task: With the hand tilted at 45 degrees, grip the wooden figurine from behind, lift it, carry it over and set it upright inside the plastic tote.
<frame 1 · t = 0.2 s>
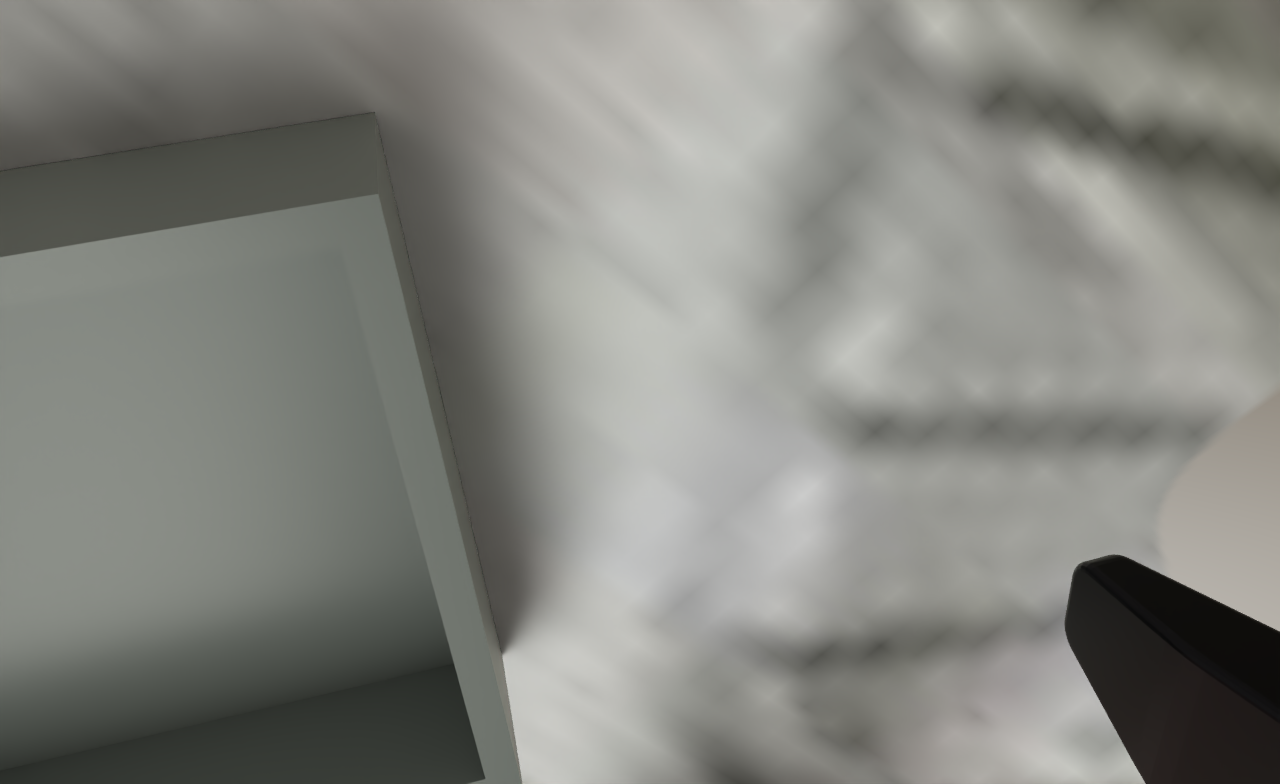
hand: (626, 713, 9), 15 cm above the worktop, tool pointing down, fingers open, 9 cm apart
tote: (109, 501, 23), on the worktop
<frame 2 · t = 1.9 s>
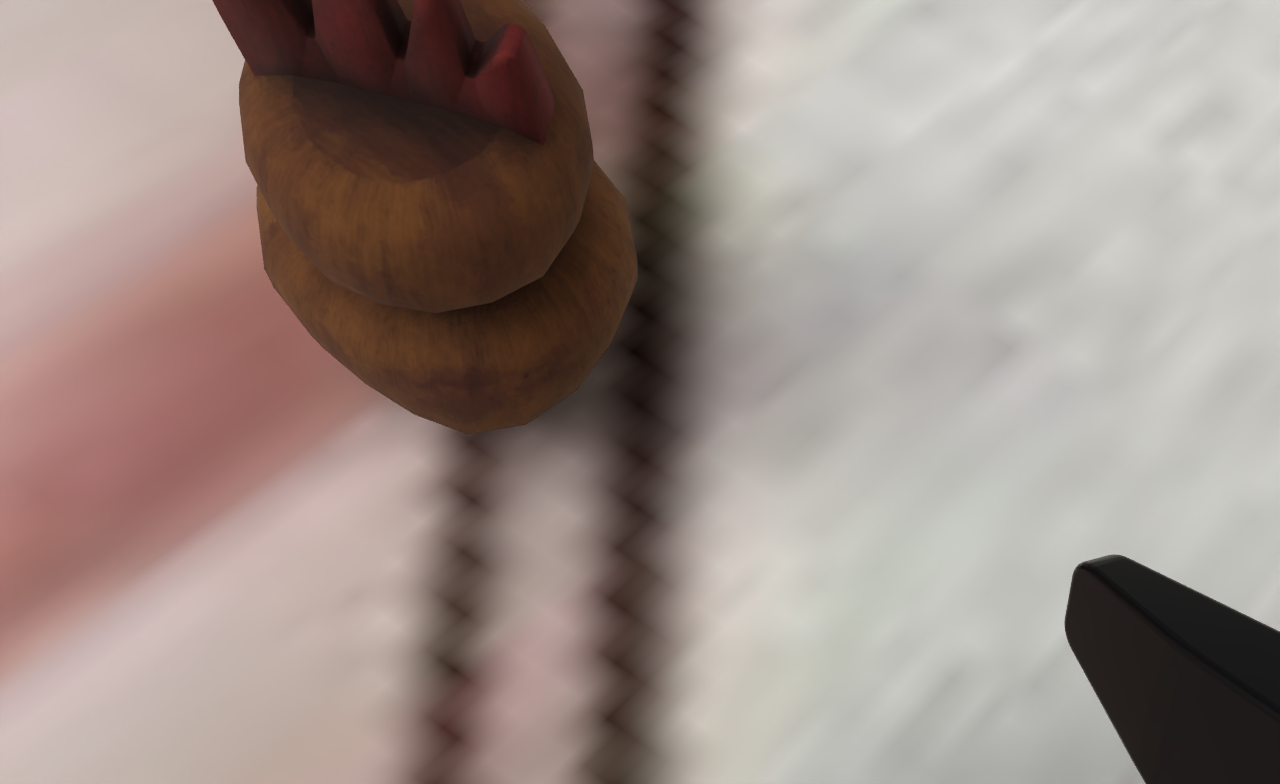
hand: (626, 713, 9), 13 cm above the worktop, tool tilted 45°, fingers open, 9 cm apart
wooden figurine: (472, 318, 24), on the worktop
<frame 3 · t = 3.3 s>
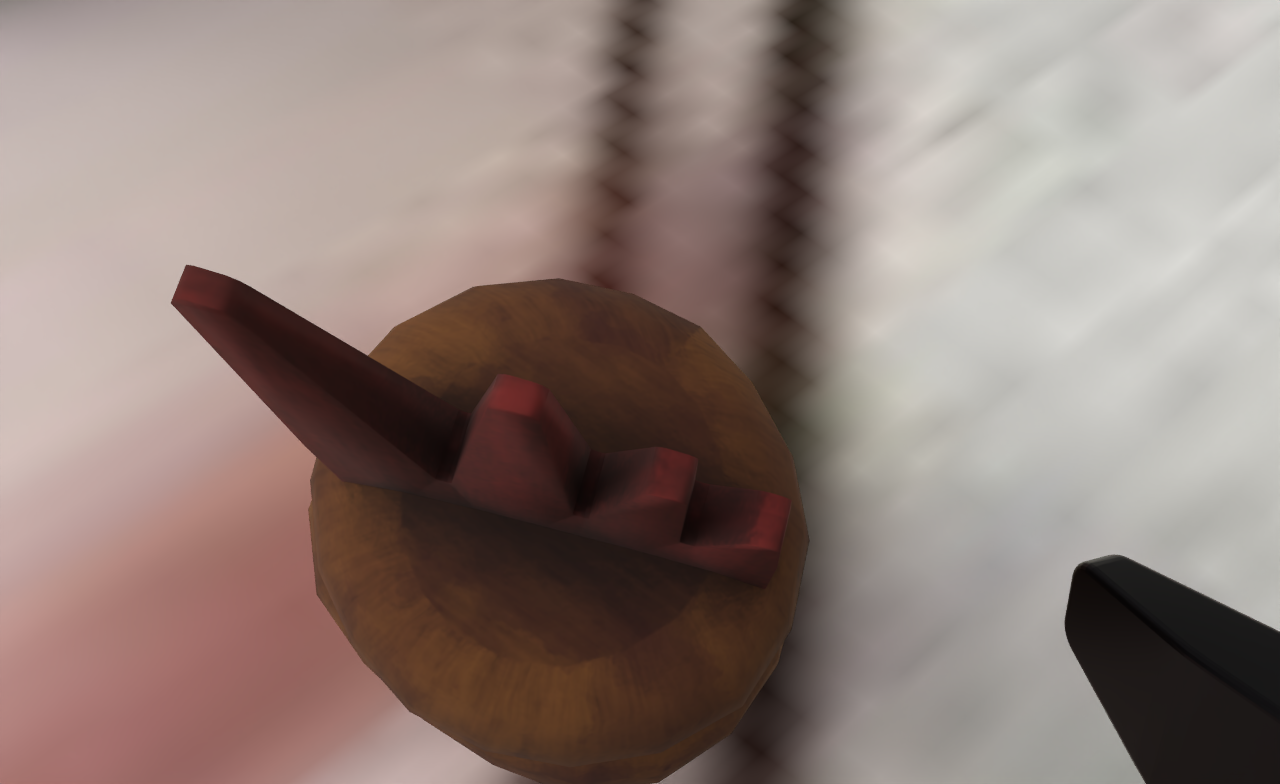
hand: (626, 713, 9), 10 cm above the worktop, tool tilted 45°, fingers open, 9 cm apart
wooden figurine: (552, 568, 20), on the worktop
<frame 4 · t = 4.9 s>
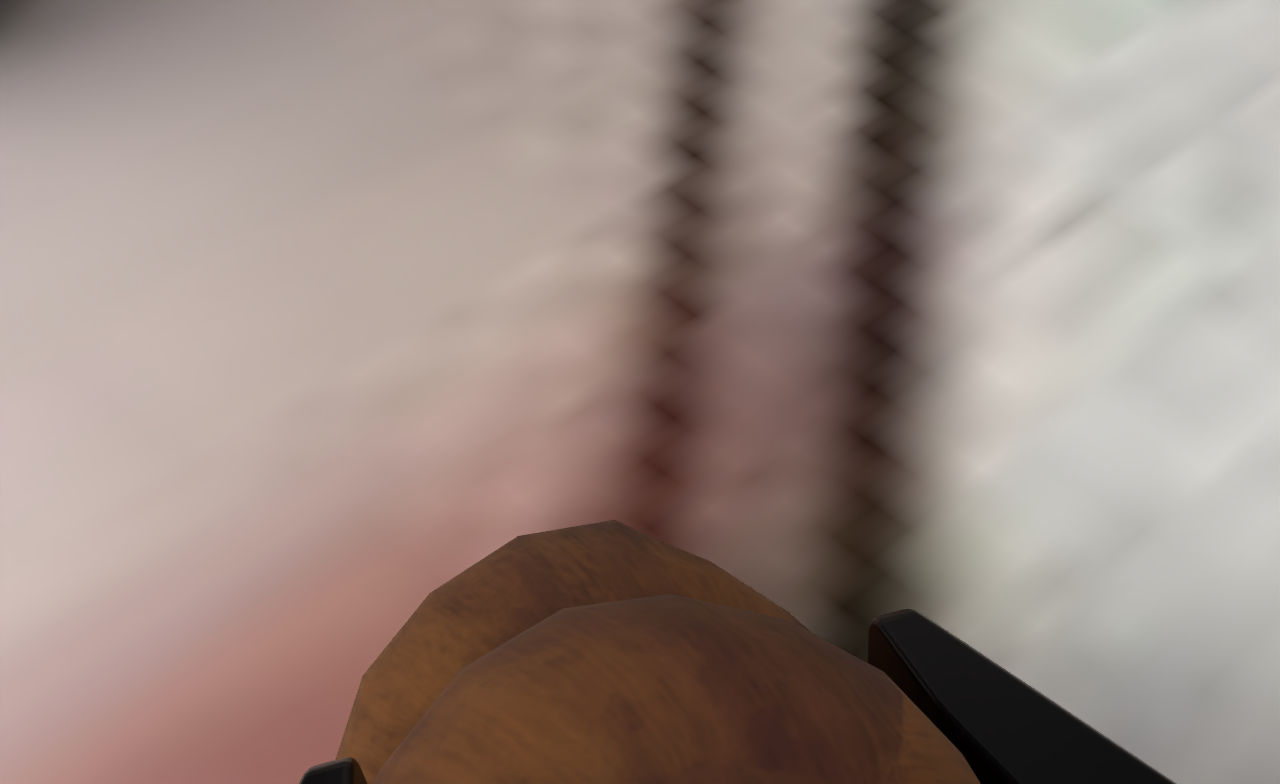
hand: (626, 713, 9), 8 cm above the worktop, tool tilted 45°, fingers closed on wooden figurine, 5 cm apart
wooden figurine: (609, 756, 17), on the worktop, touching gripper
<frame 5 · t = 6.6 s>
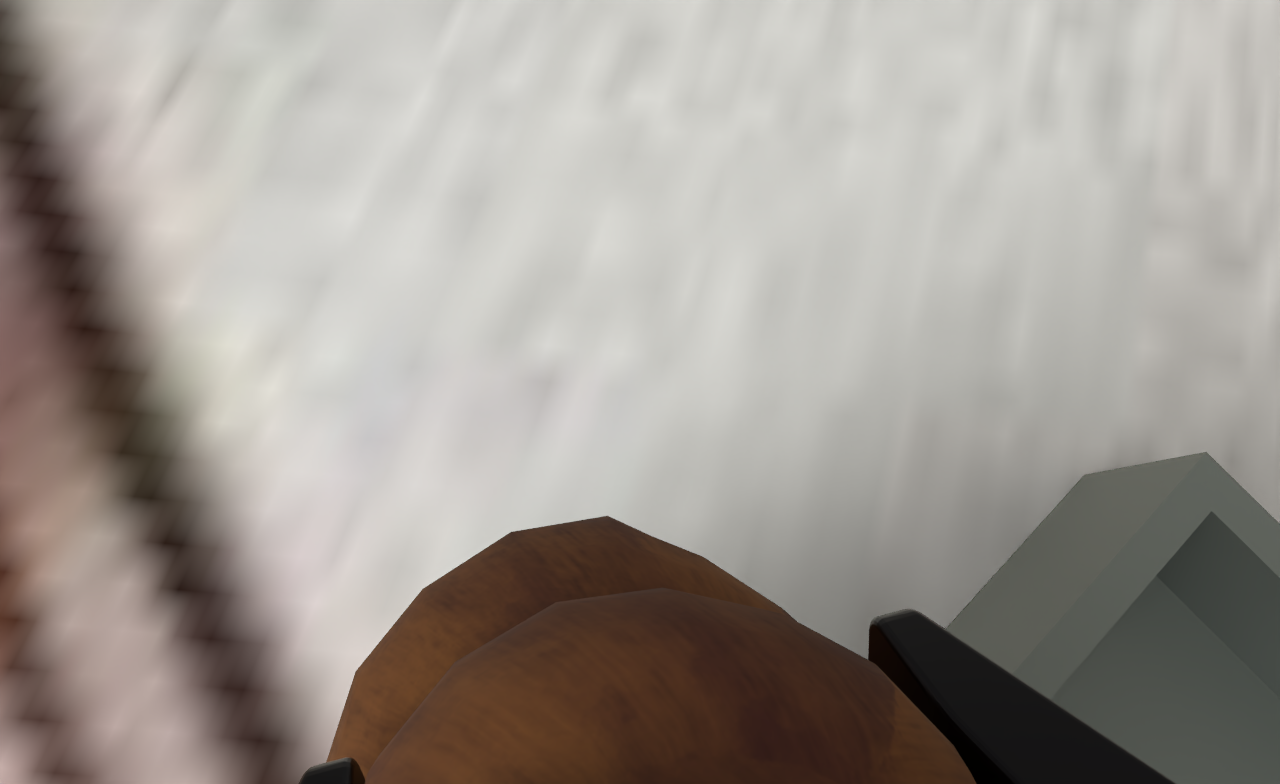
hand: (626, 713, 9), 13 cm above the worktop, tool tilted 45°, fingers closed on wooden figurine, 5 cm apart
wooden figurine: (602, 753, 17), point 6 cm above the worktop, touching gripper
when the fingers open (9 cm above the worktop, at t = 8.5 s): wooden figurine drops 1 cm, resting on tote.
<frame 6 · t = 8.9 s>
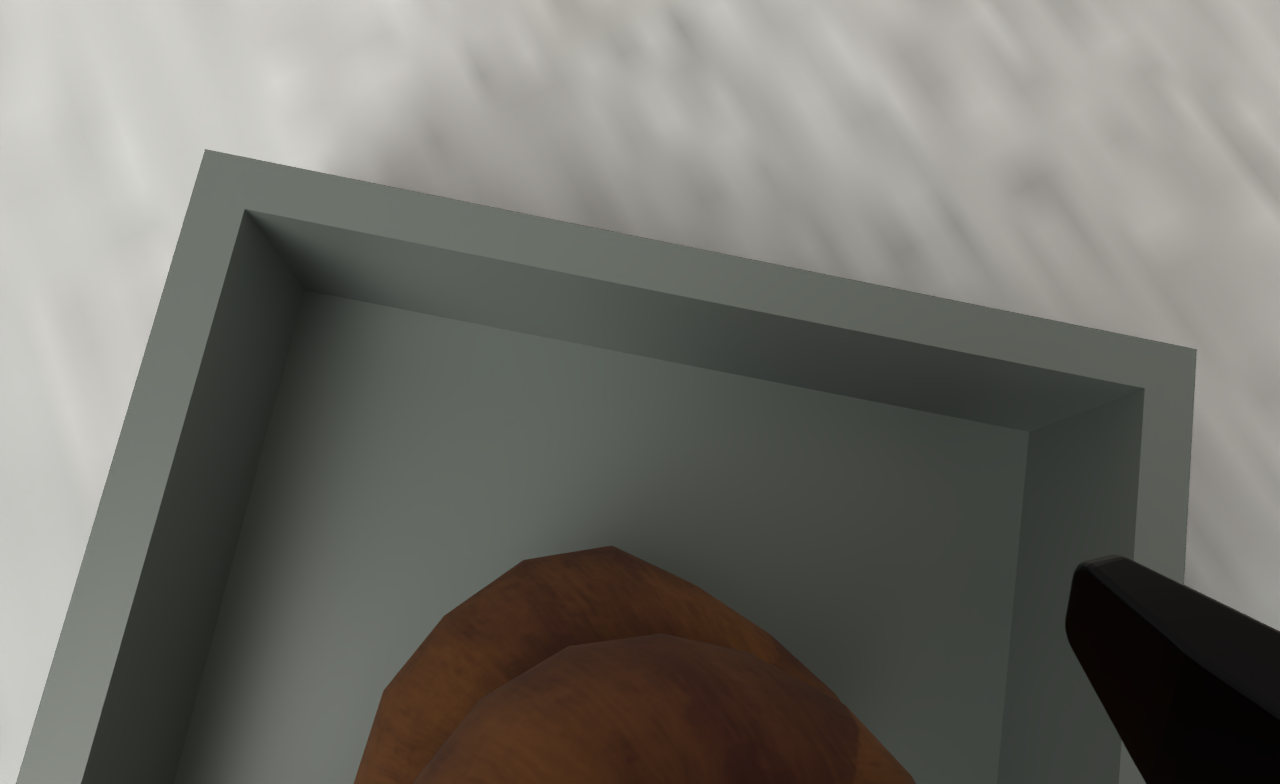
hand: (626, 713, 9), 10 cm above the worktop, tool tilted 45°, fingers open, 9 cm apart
wooden figurine: (604, 755, 18), resting on tote
tote: (604, 741, 18), on the worktop
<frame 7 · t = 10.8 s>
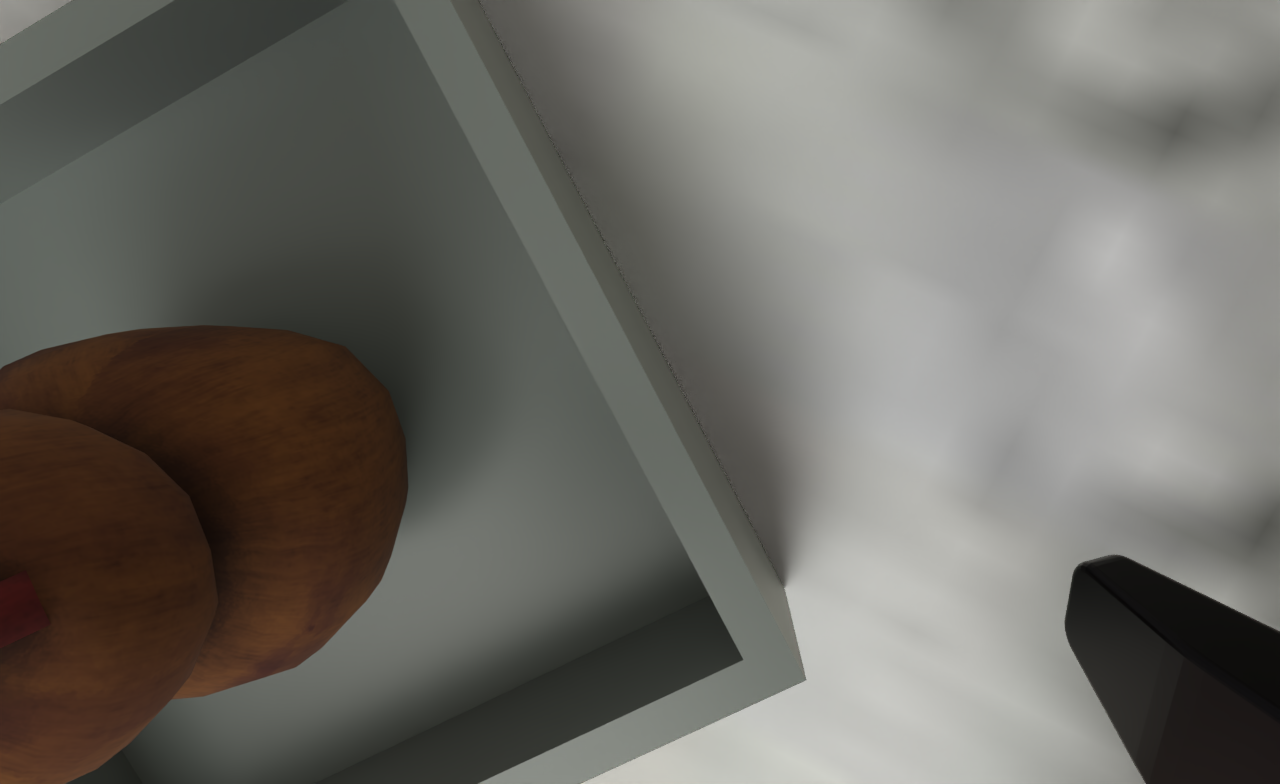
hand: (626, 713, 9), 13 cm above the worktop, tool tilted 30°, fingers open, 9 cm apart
wooden figurine: (295, 444, 22), resting on tote
tote: (298, 433, 22), on the worktop
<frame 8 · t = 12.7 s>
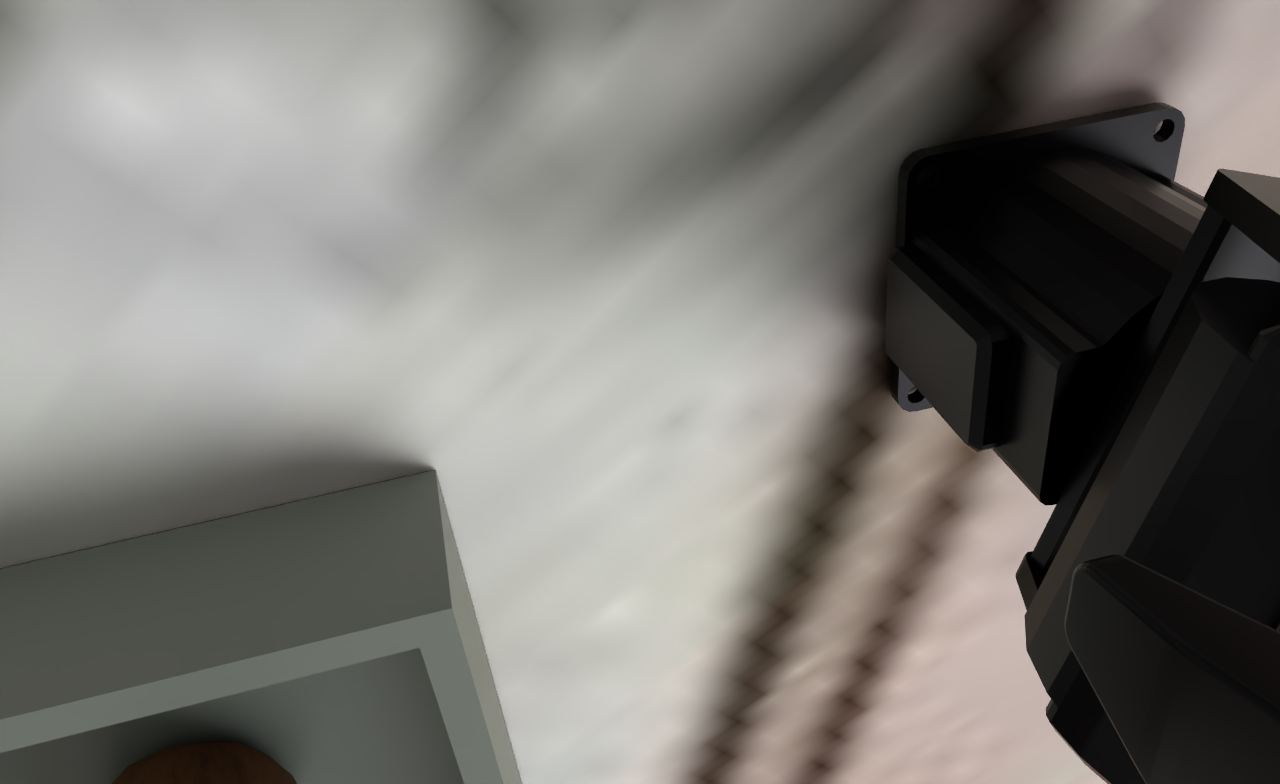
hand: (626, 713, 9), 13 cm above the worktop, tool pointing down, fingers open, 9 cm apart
tote: (200, 775, 26), on the worktop
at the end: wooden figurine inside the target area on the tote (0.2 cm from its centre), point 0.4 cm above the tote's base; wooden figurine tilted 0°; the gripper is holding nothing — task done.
